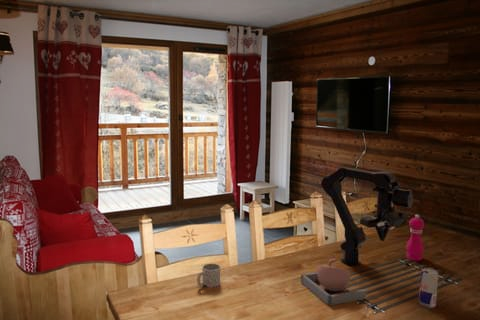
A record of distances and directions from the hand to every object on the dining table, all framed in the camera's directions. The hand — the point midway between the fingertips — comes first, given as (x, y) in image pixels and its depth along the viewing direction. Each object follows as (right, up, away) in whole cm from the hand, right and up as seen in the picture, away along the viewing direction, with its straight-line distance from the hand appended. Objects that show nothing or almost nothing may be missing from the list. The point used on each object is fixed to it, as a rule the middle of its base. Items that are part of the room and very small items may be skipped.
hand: (382, 240), depth 166 cm
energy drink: (+7, -17, -25) cm, 31 cm away
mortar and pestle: (-23, -15, -15) cm, 31 cm away
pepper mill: (+20, -11, +17) cm, 28 cm away
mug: (-70, -14, -12) cm, 72 cm away
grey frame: (-23, -15, -15) cm, 31 cm away
